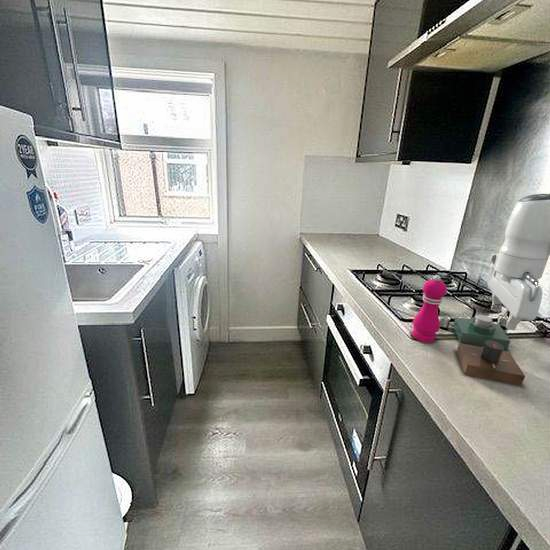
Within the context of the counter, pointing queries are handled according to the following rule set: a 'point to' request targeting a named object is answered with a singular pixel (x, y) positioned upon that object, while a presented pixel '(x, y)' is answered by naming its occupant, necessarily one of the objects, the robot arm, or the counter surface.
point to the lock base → (489, 365)
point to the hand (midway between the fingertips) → (502, 319)
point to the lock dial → (492, 351)
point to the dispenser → (479, 332)
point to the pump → (483, 321)
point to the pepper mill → (429, 311)
